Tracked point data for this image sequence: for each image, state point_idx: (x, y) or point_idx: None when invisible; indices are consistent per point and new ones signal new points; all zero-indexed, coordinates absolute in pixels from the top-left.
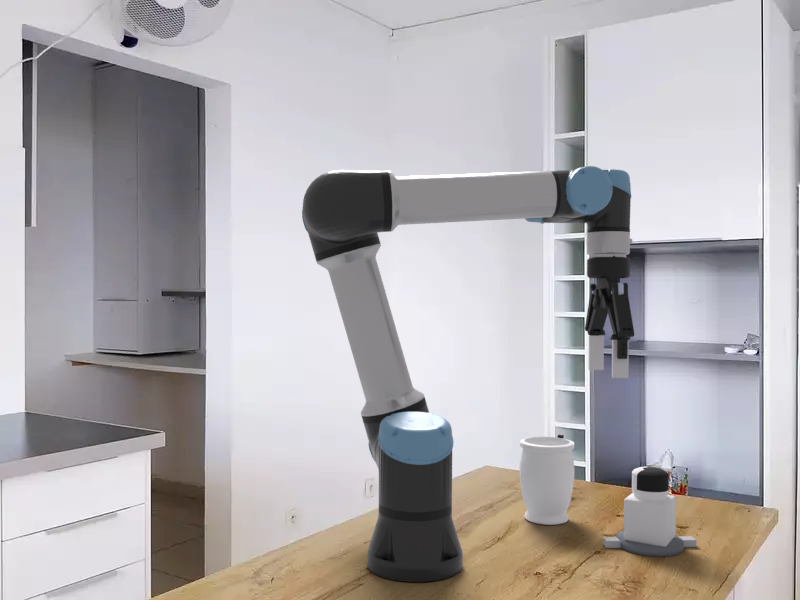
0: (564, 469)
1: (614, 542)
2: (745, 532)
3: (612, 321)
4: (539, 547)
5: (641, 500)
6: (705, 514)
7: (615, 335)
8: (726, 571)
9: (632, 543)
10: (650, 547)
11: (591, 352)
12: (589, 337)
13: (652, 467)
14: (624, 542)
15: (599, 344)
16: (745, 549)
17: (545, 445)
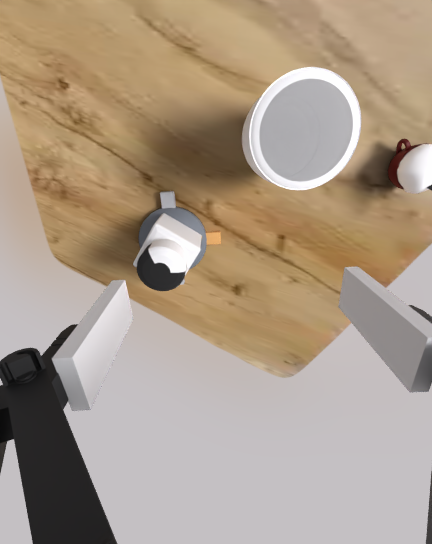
0: (249, 160)
1: (161, 201)
2: (219, 336)
3: (23, 449)
4: (156, 106)
5: (148, 242)
6: (277, 323)
7: (3, 378)
8: (109, 283)
9: (154, 219)
10: (143, 234)
11: (376, 301)
12: (428, 331)
13: (171, 277)
14: (156, 211)
15: (388, 348)
16: (170, 319)
17: (345, 141)
